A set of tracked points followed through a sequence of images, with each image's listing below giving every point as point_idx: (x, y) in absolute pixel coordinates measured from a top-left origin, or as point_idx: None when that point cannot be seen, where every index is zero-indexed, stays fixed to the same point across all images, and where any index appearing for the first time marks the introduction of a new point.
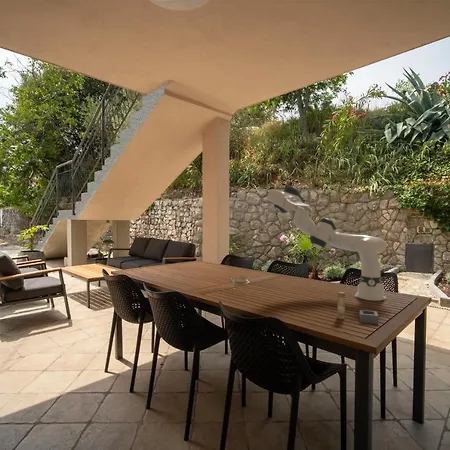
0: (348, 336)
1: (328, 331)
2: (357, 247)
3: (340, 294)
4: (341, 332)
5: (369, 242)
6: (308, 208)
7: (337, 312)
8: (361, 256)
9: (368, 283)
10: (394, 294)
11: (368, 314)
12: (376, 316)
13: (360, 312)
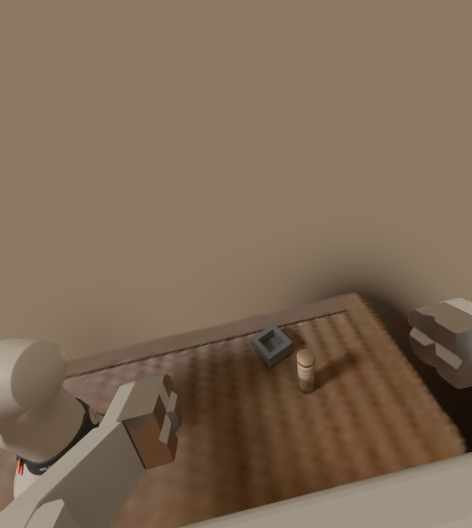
0: (365, 324)
1: (386, 352)
2: (43, 389)
3: (313, 354)
4: (364, 338)
5: (38, 339)
6: (59, 514)
7: (312, 386)
8: (45, 406)
9: (95, 424)
10: None
11: (281, 334)
12: (275, 326)
13: (283, 348)
